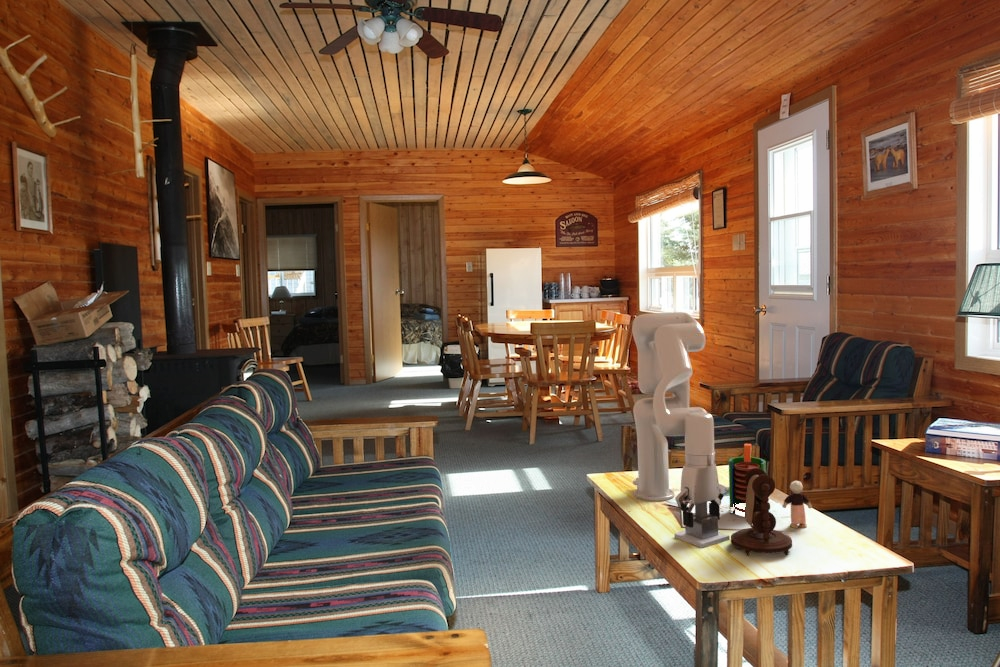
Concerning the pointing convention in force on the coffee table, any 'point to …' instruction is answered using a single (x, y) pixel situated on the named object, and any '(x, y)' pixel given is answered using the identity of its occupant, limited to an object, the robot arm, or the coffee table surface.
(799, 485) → the grandmother figurine
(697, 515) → the shaft block
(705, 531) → the grey square holed block
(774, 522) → the dark brown upright piece
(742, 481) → the motor
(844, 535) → the coffee table surface
